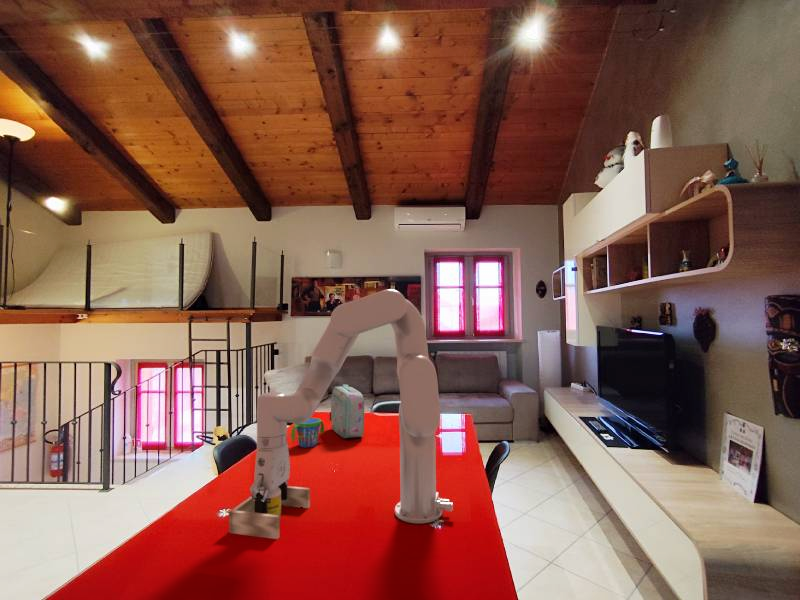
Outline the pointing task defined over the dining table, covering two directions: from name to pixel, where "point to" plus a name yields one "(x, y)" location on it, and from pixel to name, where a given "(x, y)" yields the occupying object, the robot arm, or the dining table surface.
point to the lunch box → (347, 412)
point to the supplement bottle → (273, 501)
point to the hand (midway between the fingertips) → (271, 507)
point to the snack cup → (307, 432)
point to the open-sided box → (264, 515)
